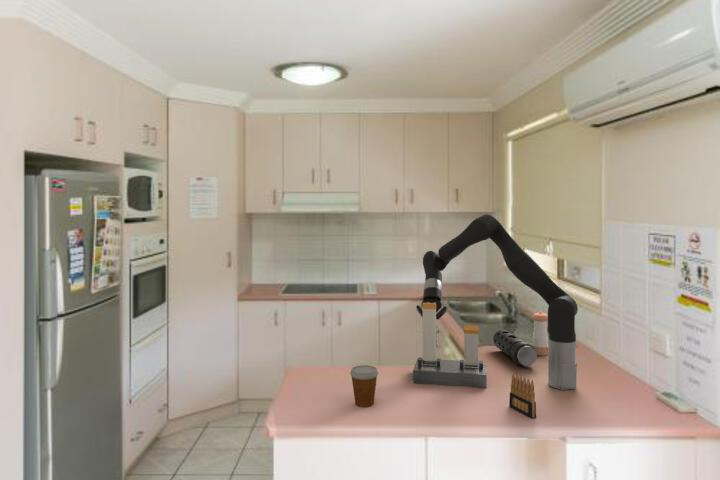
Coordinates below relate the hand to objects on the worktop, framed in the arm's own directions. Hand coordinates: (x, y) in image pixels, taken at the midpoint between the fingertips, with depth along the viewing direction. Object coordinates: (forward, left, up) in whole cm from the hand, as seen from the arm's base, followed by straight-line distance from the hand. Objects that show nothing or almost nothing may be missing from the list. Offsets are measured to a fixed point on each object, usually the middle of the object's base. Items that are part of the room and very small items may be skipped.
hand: (430, 327), depth 204 cm
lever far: (-4, +2, -13) cm, 14 cm away
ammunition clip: (-44, -15, -19) cm, 50 cm away
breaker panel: (-8, -5, -19) cm, 21 cm away
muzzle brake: (+9, -42, -19) cm, 47 cm away
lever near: (-11, -12, -13) cm, 21 cm away
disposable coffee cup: (-25, +33, -19) cm, 45 cm away
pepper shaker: (+15, -58, -19) cm, 63 cm away
